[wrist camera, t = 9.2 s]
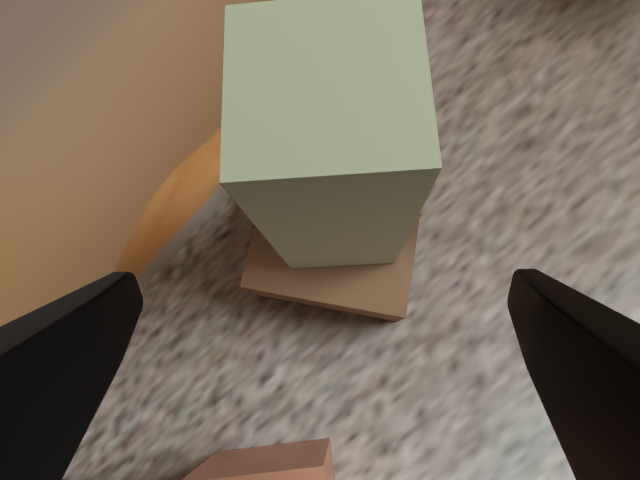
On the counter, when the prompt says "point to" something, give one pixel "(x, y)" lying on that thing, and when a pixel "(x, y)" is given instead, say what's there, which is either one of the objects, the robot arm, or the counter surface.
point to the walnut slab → (333, 281)
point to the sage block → (329, 126)
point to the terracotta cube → (270, 463)
